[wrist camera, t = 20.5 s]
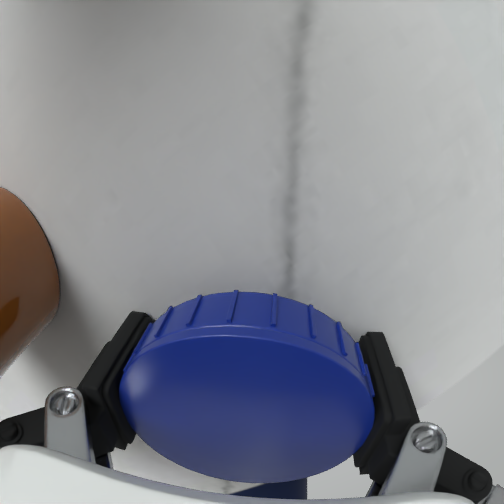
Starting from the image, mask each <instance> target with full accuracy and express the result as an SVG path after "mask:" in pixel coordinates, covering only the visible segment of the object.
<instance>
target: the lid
mask: <svg viewBox="0 0 504 504" xmlns="http://www.w3.org/2000/svg"><path fill="white" fill-rule="evenodd" d="M123 371H124V374H123V376H122V379H121V381H120V387H119V399H120V403H121V406H122V409H123V412H124V414H125V417H126V419H127V421H128V423H129V424H130V426H131V427H132V429H133V430H134V431H135V432H136V433H137V435H138V436H139V437H140V438H141V439H142V440H143V441H144V442H145V443H146V444H148V445H149V446H150V447H151V448H153V449H154V450H155V451H156V452H158V453H159V454H161V455H162V456H164V457H166V458H167V459H169V460H171V461H173V462H175V463H176V464H178V465H180V466H183V467H185V468H187V469H190V470H192V471H195V472H198V473H201V474H204V475H207V476H211V477H214V478H219V479H224V480H229V481H236V482H246V483H277V482H286V481H293V480H298V479H302V478H306V477H310V476H313V475H316V474H319V473H321V472H324V471H327V470H328V469H331V468H333V467H335V466H337V465H338V464H340V463H342V462H343V461H345V460H347V459H348V458H349V457H351V456H352V455H353V454H354V453H355V452H356V451H357V450H358V449H359V448H360V447H361V446H362V445H363V444H364V442H365V440H366V439H367V437H368V435H369V433H370V431H371V429H372V427H373V424H374V419H375V407H374V402H373V398H372V397H375V394H374V390H373V386H372V382H371V378H370V374H369V370H368V366H367V364H364V360H363V356H362V353H361V349H360V345H359V343H358V342H357V343H355V342H354V340H353V339H352V338H351V336H350V335H349V334H348V333H347V332H346V331H345V330H344V329H343V328H342V325H341V323H340V322H339V321H338V322H335V321H334V320H332V319H331V318H329V317H328V316H327V315H325V314H324V313H322V312H320V311H318V310H316V309H314V308H313V305H309V306H308V305H305V304H303V303H300V302H297V301H295V300H292V299H288V298H284V297H280V296H277V294H275V293H273V295H271V294H265V293H257V292H238V290H234V292H227V293H217V294H211V295H206V296H202V295H198V296H197V298H195V299H192V300H189V301H186V302H184V303H182V304H180V305H178V306H176V307H174V308H173V307H172V306H171V307H169V308H168V310H167V312H166V313H164V314H163V315H162V316H160V317H159V318H158V319H157V320H156V321H155V322H154V323H153V324H152V323H150V324H149V325H148V327H147V329H146V330H145V332H144V334H143V335H142V337H141V339H140V341H139V342H138V344H137V346H136V348H135V349H134V351H133V353H132V355H131V357H130V359H129V361H128V362H127V364H126V366H125V368H124V370H123Z"/></svg>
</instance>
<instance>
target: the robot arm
mask: <svg viewBox="0 0 504 504" xmlns="http://www.w3.org/2000/svg"><path fill="white" fill-rule="evenodd" d="M150 323H152V324H153V321H152V319H151V318H149V317H148V315H147V314H146V313H142V312H135V311H132V312H131V313H130V314H129V315H128V317H127V318H126V320H125V321H124V323H123V324H122V325H121V327H120V328H119V330H118V331H117V333H116V334H115V336H114V337H113V339H112V340H111V341H110V342H108V343H107V344H106V345H105V346H104V348H103V349H102V351H101V352H100V354H99V355H98V357H97V358H96V360H95V361H94V363H93V364H92V366H91V367H90V369H89V370H88V372H87V373H86V375H85V376H84V378H83V379H82V381H81V382H80V384H79V386H78V387H77V389H75V388H72V387H60V388H57V389H55V390H53V391H52V392H51V393H50V394H49V395H48V397H47V398H46V401H45V407H43V408H40V409H37V410H33V411H30V412H27V413H24V414H20V415H17V416H14V417H10V418H7V419H5V420H2V421H1V422H0V504H504V488H503V487H501V486H500V485H498V484H497V485H496V486H493V485H492V478H491V475H490V473H489V472H488V471H487V470H486V469H484V468H483V467H481V466H480V465H478V464H476V463H474V462H472V461H470V460H469V459H467V458H465V457H463V456H461V455H460V454H458V453H456V452H454V451H453V450H451V449H449V448H447V447H446V445H447V438H446V435H445V433H444V431H443V430H442V429H441V428H440V427H439V426H438V425H435V424H433V423H430V422H420V420H419V417H418V414H417V411H416V408H415V405H414V402H413V399H412V396H411V393H410V391H409V388H408V385H407V382H406V379H405V376H404V374H403V371H402V369H401V368H400V367H396V366H395V364H394V361H393V358H392V355H391V353H390V350H389V347H388V344H387V342H386V339H385V336H384V334H383V333H382V332H367V333H366V336H361V338H360V341H359V345H360V349H361V353H362V356H363V360H364V364H367V366H368V370H369V374H370V378H371V382H372V386H373V390H374V394H375V397H372V398H373V402H374V407H375V419H374V424H373V427H372V429H371V431H370V433H369V435H368V437H367V439H366V440H365V442H364V444H363V445H362V446H361V447H360V448H359V449H358V450H357V451H356V452H355V453H354V454H353V457H354V465H355V467H359V469H360V474H369V475H370V479H372V480H373V483H372V485H371V487H370V489H369V491H368V492H367V494H366V496H365V497H360V498H345V499H320V500H297V499H271V498H256V497H245V496H235V495H227V494H220V493H213V492H206V491H200V490H194V489H189V488H184V487H179V486H174V485H169V484H165V483H160V482H156V481H152V480H148V479H144V478H140V477H137V476H133V475H130V474H126V473H123V472H120V471H116V470H114V468H113V464H112V459H111V454H110V452H112V451H113V450H114V448H115V447H116V448H119V449H123V450H125V449H126V446H127V444H128V443H129V444H131V443H132V442H133V440H134V438H135V435H136V432H135V431H134V430H133V429H132V427H131V426H130V424H129V423H128V421H127V419H126V417H125V414H124V412H123V409H122V406H121V403H120V399H119V387H120V381H121V379H122V376H123V374H124V371H123V370H124V368H125V366H126V364H127V362H128V361H129V359H130V357H131V355H132V353H133V351H134V349H135V348H136V346H137V344H138V342H139V341H140V339H141V337H142V335H143V334H144V332H145V330H146V329H147V327H148V325H149V324H150Z"/></svg>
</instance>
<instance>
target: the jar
mask: <svg viewBox="0 0 504 504" xmlns="http://www.w3.org/2000/svg"><path fill="white" fill-rule="evenodd" d="M59 299H60V286H59V277H58V272H57V267H56V264H55V260H54V257H53V254H52V251H51V248H50V246H49V243H48V241H47V239H46V237H45V235H44V233H43V231H42V229H41V227H40V225H39V224H38V222H37V220H36V219H35V217H34V216H33V215H32V213H31V212H30V210H29V209H28V208H27V207H26V206H25V204H24V203H23V202H22V201H21V200H20V199H19V198H18V197H16V196H15V195H14V194H13V193H11V192H10V191H8V190H6V189H4V188H2V187H0V378H1V377H2V376H3V375H4V374H5V372H6V371H7V370H8V369H9V368H10V366H11V365H12V364H13V363H14V362H15V361H16V359H17V358H18V357H19V356H20V355H21V354H22V353H23V351H24V350H25V349H26V348H27V347H28V346H29V345H30V344H31V342H32V341H33V340H34V339H35V338H36V337H37V336H38V335H39V334H40V333H41V331H42V330H43V329H44V328H45V327H46V326H47V325H48V324H49V323H50V322H51V321H52V319H53V318H54V316H55V314H56V312H57V309H58V305H59Z"/></svg>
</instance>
